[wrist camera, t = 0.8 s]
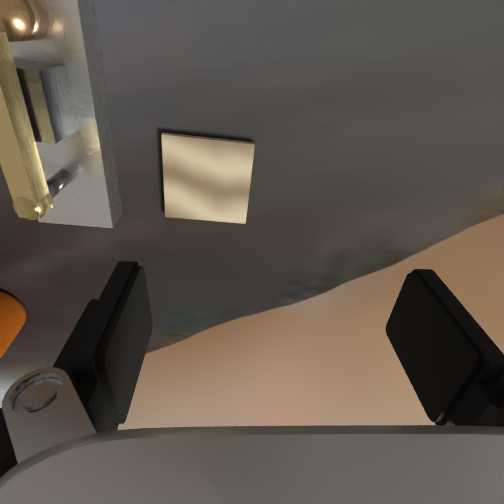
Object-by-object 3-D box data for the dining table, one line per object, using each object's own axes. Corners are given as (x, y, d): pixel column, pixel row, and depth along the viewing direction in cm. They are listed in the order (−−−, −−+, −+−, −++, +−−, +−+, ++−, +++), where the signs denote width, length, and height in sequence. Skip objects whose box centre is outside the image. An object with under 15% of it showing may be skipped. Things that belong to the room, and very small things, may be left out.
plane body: (-7, -23, 30) (-91, -40, 22) (92, -9, 31) (44, -20, 23) (54, 207, 44) (14, 245, 36) (122, 213, 44) (97, 251, 37)
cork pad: (162, 132, 38) (161, 134, 38) (254, 142, 39) (254, 144, 39) (166, 213, 45) (165, 216, 44) (245, 220, 45) (245, 223, 45)
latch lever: (-25, 28, 24) (-50, 28, 22) (8, 32, 25) (-13, 33, 23) (31, 206, 33) (17, 218, 31) (55, 208, 33) (43, 220, 31)
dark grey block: (10, 58, 30) (-26, 62, 26) (65, 64, 31) (38, 70, 27) (28, 124, 34) (-2, 138, 30) (78, 129, 34) (55, 143, 30)
